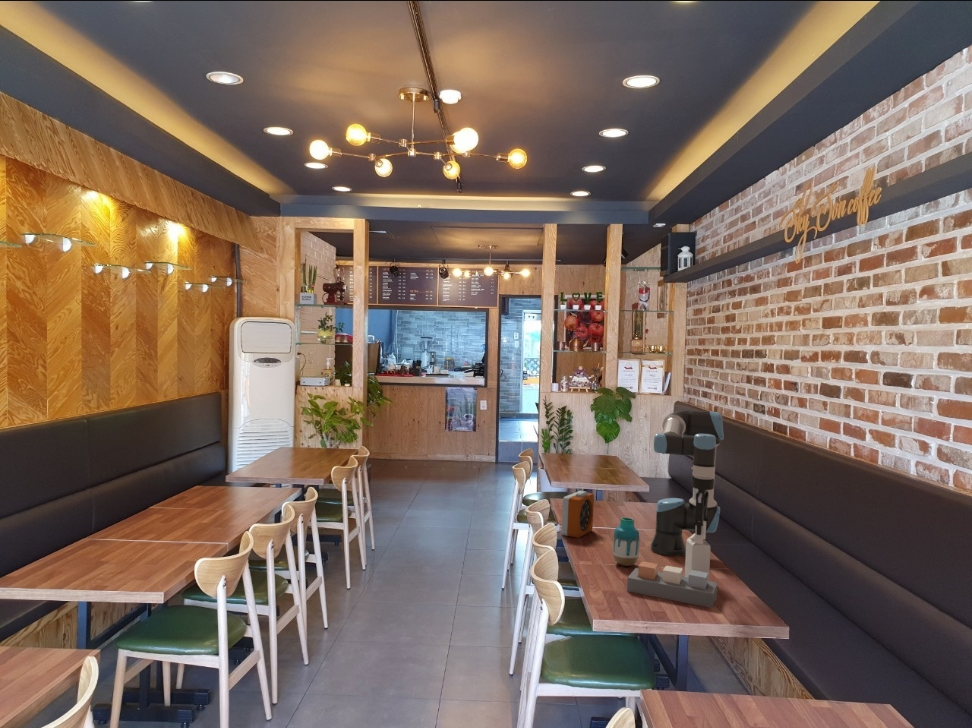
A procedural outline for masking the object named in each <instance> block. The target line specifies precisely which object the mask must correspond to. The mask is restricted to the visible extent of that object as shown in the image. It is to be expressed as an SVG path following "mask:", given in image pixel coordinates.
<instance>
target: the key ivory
mask: <svg viewBox="0 0 972 728" xmlns="http://www.w3.org/2000/svg"><path fill="white" fill-rule="evenodd" d="M683 571H684V568H682V567H676V566H670V565H665V567H664V568H663V570H662V573H663V581H664V582H669V583H675V584H681V582H682V576H684V575H683V573H684V572H683Z"/></svg>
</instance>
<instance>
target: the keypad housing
mask: <svg viewBox="0 0 972 728" xmlns="http://www.w3.org/2000/svg"><path fill="white" fill-rule="evenodd" d="M688 578H689V577H685V575H682V582H681V584H675V583H669V582H664V581H663V571H658V576H657V578H656V579H655V580H653V579H648V578H642V577H638V567H635V568H634V569H633V571H631V573H630V574H629V576H627V581H626V582H627V586H626V591H627V592H628V593H629V592H630V593H634V594H639V595H645V596H650V597H655V598H660V599H665V600H669V601H675V602H680V603H686V604H689V605H690V604H691V605H695V606H699V607H700V606H701V607H706V608H711V609H713V608H714V606H715V603H716V600H717V597H718V582H716V581H711V580H709V581H708V587H707V589H701V588H696V587H691V586H688Z"/></svg>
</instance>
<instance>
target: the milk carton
mask: <svg viewBox="0 0 972 728" xmlns="http://www.w3.org/2000/svg"><path fill="white" fill-rule="evenodd" d="M685 543H686V544H685V547H686V553H685V563H684V566H685V567H684V577H689V573H690V571H691V570H694V571H700V572H706V573H708V581H710V569H711V568H710V567H711V566H710V565H711V563H710V562H711V545H710V544H709V543H708V542H707V541H706V539H703V544H697V543H695V532H694V533H693V534H692V535H691V536H689V537H688V538H687V539H686V541H685Z"/></svg>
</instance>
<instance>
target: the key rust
mask: <svg viewBox="0 0 972 728" xmlns="http://www.w3.org/2000/svg"><path fill="white" fill-rule="evenodd" d="M637 568H638V577H642V578H648V579H653V580H655V579H656V578H657V576H658V572H659V564H658V563H655V562H650V561H649V562H647V561H641V562H640V563H639V565H638V567H637Z"/></svg>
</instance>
